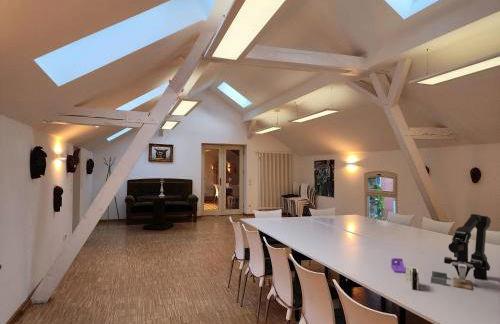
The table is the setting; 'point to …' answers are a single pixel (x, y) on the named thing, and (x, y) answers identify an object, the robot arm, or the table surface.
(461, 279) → the grey flared bar
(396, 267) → the bracket
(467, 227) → the robot arm
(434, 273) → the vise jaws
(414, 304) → the table surface
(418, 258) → the table surface
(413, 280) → the hinge
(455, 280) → the walnut pad
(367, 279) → the table surface
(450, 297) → the table surface
